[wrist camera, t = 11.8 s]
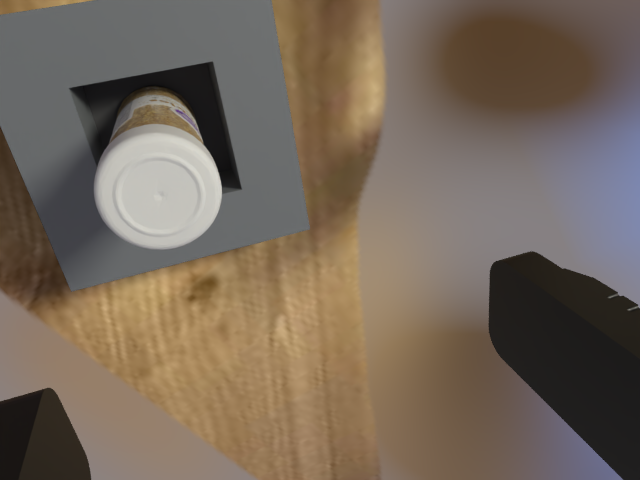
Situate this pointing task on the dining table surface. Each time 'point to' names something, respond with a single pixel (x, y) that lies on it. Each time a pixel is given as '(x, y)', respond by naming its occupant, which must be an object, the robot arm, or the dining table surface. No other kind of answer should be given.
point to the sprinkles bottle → (157, 173)
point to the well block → (118, 83)
